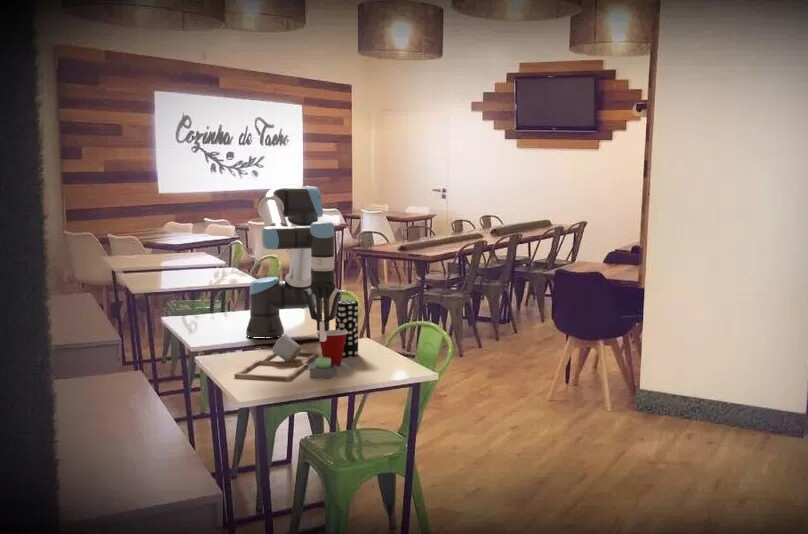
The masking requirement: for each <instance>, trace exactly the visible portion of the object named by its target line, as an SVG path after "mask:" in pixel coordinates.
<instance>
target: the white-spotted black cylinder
mask: <svg viewBox="0 0 808 534" xmlns="http://www.w3.org/2000/svg"><path fill="white" fill-rule="evenodd" d="M334 320H335V321H334V322H335V324H334V325H335V327H334V328H335V329H334V330H342V331H347V332H348V333H347V335H346V339H345V344H344V350H343V356H342V359H346V358H347V359H349V358H356V357H358V356H359V301H356V300H352V299H350V300H349V299H345V300H343V299H342V300H339V302H338V306H337V311H336V315H335V318H334Z"/></svg>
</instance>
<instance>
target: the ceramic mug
mask: <svg viewBox="0 0 808 534" xmlns="http://www.w3.org/2000/svg"><path fill="white" fill-rule="evenodd" d="M271 351H272V352H274V353H275V354H276V356H278V357H279V358H281V359H282V360H283V361H284V362H294V361H296V359H297V358H298V357H299V356H298V355H299V353H300V352H302V347H301V345H299V344H298V343H297V342H296V341H294V340H293V339H292V338H291V337H290V336H289V335H288V334H285V333H284V335H283V336H281V337H278V338H277V340H276V342H275V343H274V344H273V347H272V349H271ZM272 352H271V353H272Z"/></svg>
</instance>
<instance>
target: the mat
mask: <svg viewBox="0 0 808 534" xmlns="http://www.w3.org/2000/svg"><path fill="white" fill-rule="evenodd" d="M360 362H361V360H358V359H357V360H356V359H344V358H342V361H341V365H340V366H337V372H338V373H340V372H341V373H350V372H351V370H353V369H354V367H355V366H357V365H358V364H359V363H360ZM314 364H316V359H314V360H312V361H311V362H310V363H309V364H308V367H307V368H305V369H304V370H303V371H305V370H306V371H310V368H311V367H312V366H313V365H314Z"/></svg>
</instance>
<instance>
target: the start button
mask: <svg viewBox="0 0 808 534" xmlns="http://www.w3.org/2000/svg"><path fill="white" fill-rule="evenodd" d="M315 360H316V367H317V368H328V367H331V358H329V357H323V356H320V357H319V356H318V357H316V358H315Z"/></svg>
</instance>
